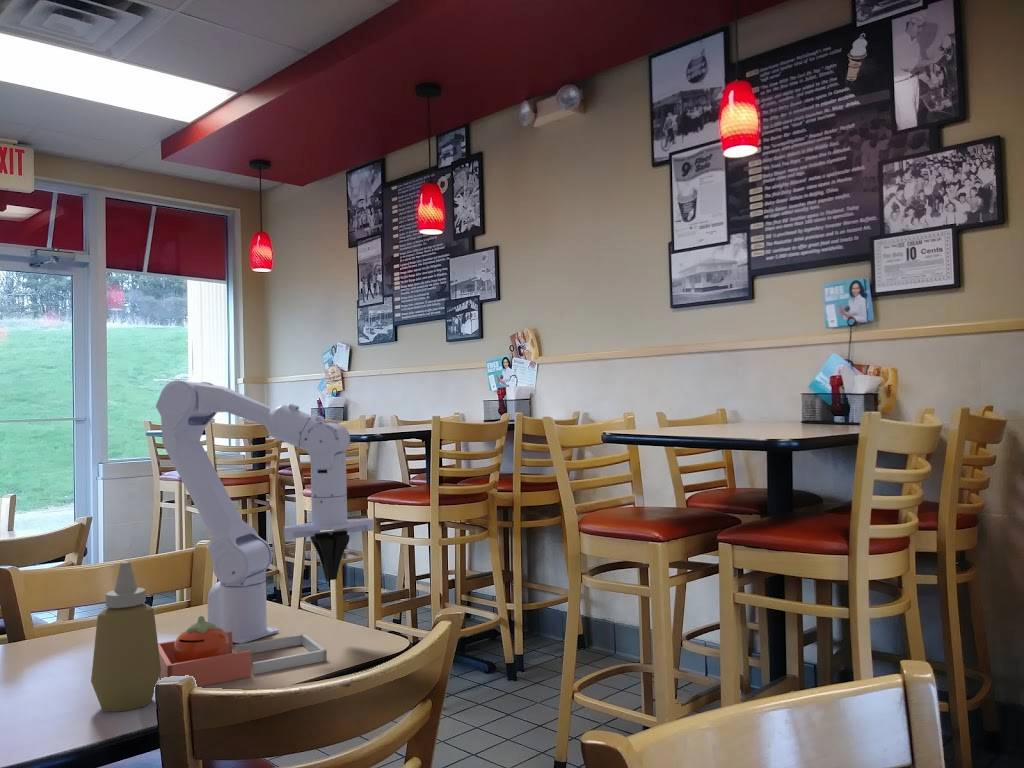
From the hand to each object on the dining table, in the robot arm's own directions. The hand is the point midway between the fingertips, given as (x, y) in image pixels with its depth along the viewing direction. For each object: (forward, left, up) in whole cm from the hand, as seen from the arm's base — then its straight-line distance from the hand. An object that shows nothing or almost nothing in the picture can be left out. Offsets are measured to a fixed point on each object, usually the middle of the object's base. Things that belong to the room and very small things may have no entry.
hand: (330, 579), depth 131 cm
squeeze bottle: (-2, -35, -10) cm, 36 cm away
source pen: (+1, -12, -9) cm, 15 cm away
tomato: (-5, -22, -10) cm, 24 cm away
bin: (-4, -21, -9) cm, 23 cm away
